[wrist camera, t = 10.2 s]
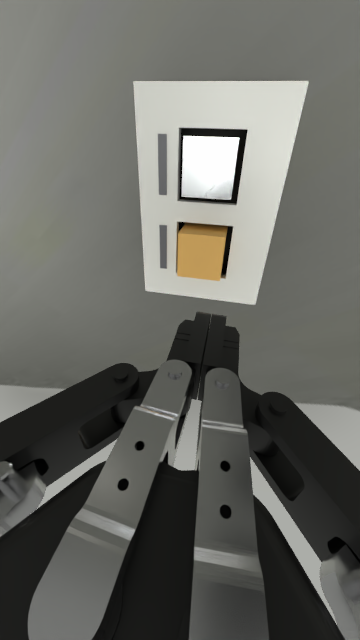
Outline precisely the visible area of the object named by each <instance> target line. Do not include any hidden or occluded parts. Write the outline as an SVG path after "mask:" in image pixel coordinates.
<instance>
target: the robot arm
mask: <svg viewBox="0 0 360 640" xmlns="http://www.w3.org/2000/svg"><path fill="white" fill-rule="evenodd" d="M210 318H211V323H210ZM225 324H226V316H223V315H216V314H212V317H211V314H209V313H203V312H197V313H196V317H195V320H194V321H191V320H184V321H183V322H182V323H181V324H180V325H179V327H178V330H177V333H176V336H175V339H174V341H173V344H172V347H171V350H170V352H169V355H168V358H167V361H166V362H164V363H163V364H161V366H160V367H159V368H158V369H156V370H153V371H145V372H138V370H137V369H136V368H135V367H134V366H133V365H131V364H127V363H119V364H115V365H113V366H111V367H109V368H107V369H105V370H103V371H101V372H99V373H97V374H95V375H93V376H91V377H89V378H87V379H85V380H83V381H81V382H79V383H77V384H75V385H73V386H71V387H69V388H67V389H65V390H64V391H62V392H60V393H58V394H56V395H54V396H52V397H50V398H48V399H46V400H44V401H42V402H40V403H38V404H36V405H34V406H32V407H30V408H28V409H26V410H24V411H22V412H20V413H18V414H16V415H14V416H12V417H10V418H8V419H6V420H4V421H2V422H1V423H0V640H360V471H359V470H358V469H357V468H356V467H355V466H354V465H353V464H352V463H351V462H350V460H348V458H347V457H346V456H345V455H344V454H343V453H342V452H341V451H340V450H339V449H338V448H337V447H336V446H335V445H334V444H333V443H332V442H331V441H330V440H329V439H328V438H327V437H326V436H325V435H324V434H323V433H322V432H321V430H320V429H318V427H317V426H316V425H315V424H314V423H313V422H312V421H311V420H310V419H309V418H308V417H307V416H306V415H305V414H304V413H303V412H302V411H301V410H300V409H299V408H298V407H297V406H296V405H295V404H294V403H293V401H292V400H290V399H289V398H288V397H287V396H285V395H283V394H281V393H277V392H267V393H264V394H263V395H260V394H258V393H256V392H254V391H252V390H250V389H248V388H247V387H246V386H244V385H243V383H242V382H241V381H240V379H239V376H238V363H239V333H238V331H237V329H236V328H235V327H229V326H225ZM209 326H210V328H209ZM200 378H201V380H200ZM199 383H200V388H199ZM198 389H199V395H198V400H201V401H202V403H201V409H200V417H199V428H198V440H197V452H196V463H195V470H191V471H181V470H177V469H176V468H174V467H173V465H174V460H175V456H176V452H177V449H178V445H179V442H180V438H181V435H182V432H183V429H184V425H185V421H186V418H187V415H188V411H189V409H190V404H191V399H195V400H196V399H197V394H198ZM117 438H118V439H117ZM116 439H117V442H116V443H115V445H114V448H113V449H112V451H111V453H110V455H109V457H108V459H107V461H104V462H102V463H100V464H98V465H96V466H94V467H93V468H91V469H90V470H88V471H87V472H86V473H84V474H83V475H82V476H80V477H79V478H78V479H76V480H75V481H74V482H72V483H71V484H70V485H68V486H67V487H66V488H64V489H63V490H62V491H60V492H59V493H58V494H56V495H55V496H54V497H52V498H51V499H50V500H48V501H47V502H46V503H45V504H43V505H42V506H41V507H39V508H38V509H37V507H38V505H39V504H40V502H41V501H42V499H43V497H44V494H45V490H46V487H47V486H48V485H50V484H52V483H53V482H54V481H56V480H57V479H59V478H60V477H62V476H63V475H65V474H66V473H68V472H69V471H71V470H72V469H73V468H75V467H76V466H78V465H79V464H81V463H82V462H84V461H85V460H87V459H88V458H90V457H91V456H93V455H94V454H95V453H97V452H98V451H100V450H101V449H103V448H104V447H106V446H107V445H109V444H110V443H112V442H113V441H115V440H116ZM250 457H251V459H252V460H253V461H254V463H255V464H256V466H257V467H258V469H259V470H260V472H261V473H262V475H263V476H264V478H265V479H266V481H267V482H268V483H269V485H270V487H271V488H272V489H273V491H274V492H275V494H276V495H277V497H278V498H279V500H280V501H281V503H282V504H283V506H284V507H285V509H286V510H287V512H288V513H289V514H290V516H291V518H292V519H293V521H294V522H295V523H296V525H297V526H298V528H299V529H300V531H301V532H302V534H303V535H304V537H305V538H306V540H307V541H308V543H309V544H310V546H311V547H312V548H313V550H314V552H315V553H316V554H317V556H318V557H319V559H320V560H321V562H322V564H321V567H320V581H321V586H322V590H323V593H324V595H325V597H326V599H327V601H328V603H329V605H330V607H331V609H332V611H333V614H334V616H335V619H336V622H337V625H336V623H335V621H334V620H333V618H332V616H331V615H330V613H329V611H328V610H327V608H326V606H325V605H324V603H323V601H322V600H321V598H320V596H319V594H318V593H317V591H316V589H315V588H314V586H313V584H312V583H311V581H310V579H309V578H308V576H307V574H306V573H305V571H304V569H303V567H302V566H301V564H300V562H299V561H298V559H297V558H296V556H295V554H294V552H293V551H292V549H291V547H290V546H289V544H288V542H287V541H286V539H285V537H284V535H283V534H282V532H281V530H280V529H279V527H278V526H277V524H276V522H275V520H274V519H273V517H272V515H271V514H270V513H269V511H268V510H267V509H266V507H265V506H264V505H263V504H262V503H261V502H260V501H259V500H258V499H257V498H256V497H255V496H254V495H253V490H252V478H251V467H250ZM36 509H37V510H36ZM33 511H34V512H33ZM32 512H33V513H32ZM30 513H31V514H30ZM28 515H29V516H28Z"/></svg>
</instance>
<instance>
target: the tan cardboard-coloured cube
mask: <svg viewBox="0 0 360 640" xmlns="http://www.w3.org/2000/svg"><path fill="white" fill-rule="evenodd" d="M227 229H228V226H225V225H213V224H201V223H189V222H186V223H185V225H184V226H183V227H182V229H181V230H180V231H179V233H178V264H177V276H180V277H188V278H197V279H205V280H214V281H220V277H221V271H222V266H223V258H224V251H225V244H226V236H227Z"/></svg>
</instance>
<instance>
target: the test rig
mask: <svg viewBox="0 0 360 640" xmlns="http://www.w3.org/2000/svg"><path fill="white" fill-rule="evenodd" d="M308 83H309V81H133V84H134V101H135V118H136V135H137V153H138V170H139V187H140V204H141V222H142V239H143V256H144V273H145V291H151V292H159V293H167V294H175V295H182V296H190V297H198V298H205V299H213V300H221V301H229V302H236V303H244V304H252V305H255V304H256V299H257V295H258V291H259V287H260V283H261V279H262V274H263V270H264V266H265V262H266V258H267V254H268V250H269V245H270V241H271V237H272V233H273V229H274V225H275V220H276V216H277V212H278V208H279V204H280V200H281V195H282V191H283V187H284V183H285V179H286V175H287V170H288V166H289V162H290V158H291V154H292V150H293V145H294V141H295V137H296V133H297V129H298V125H299V120H300V116H301V112H302V108H303V104H304V100H305V95H306V91H307V87H308ZM181 128H199V129H235V130H248V131H247V138H246V144H245V151H244V158H243V165H242V171H241V178H240V185H239V191H238V198H237V203H223V202H209V201H195V200H181V199H179V193H180V154H181ZM179 222H189V223H201V224H213V225H225V226H233V232H232V239H231V245H230V252H229V259H228V266H227V272H226V273H221V277H220V281H214V280H205V279H197V278H188V277H180V276H177V264H178V233H179Z"/></svg>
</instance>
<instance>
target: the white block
mask: <svg viewBox="0 0 360 640" xmlns="http://www.w3.org/2000/svg"><path fill="white" fill-rule="evenodd" d="M239 142H240V138H237V137H205V136H183V161H182V195H181V197H194V198H208V199H223V200H231V197H232V193H233V186H234V179H235V171H236V164H237V157H238V149H239Z"/></svg>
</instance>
